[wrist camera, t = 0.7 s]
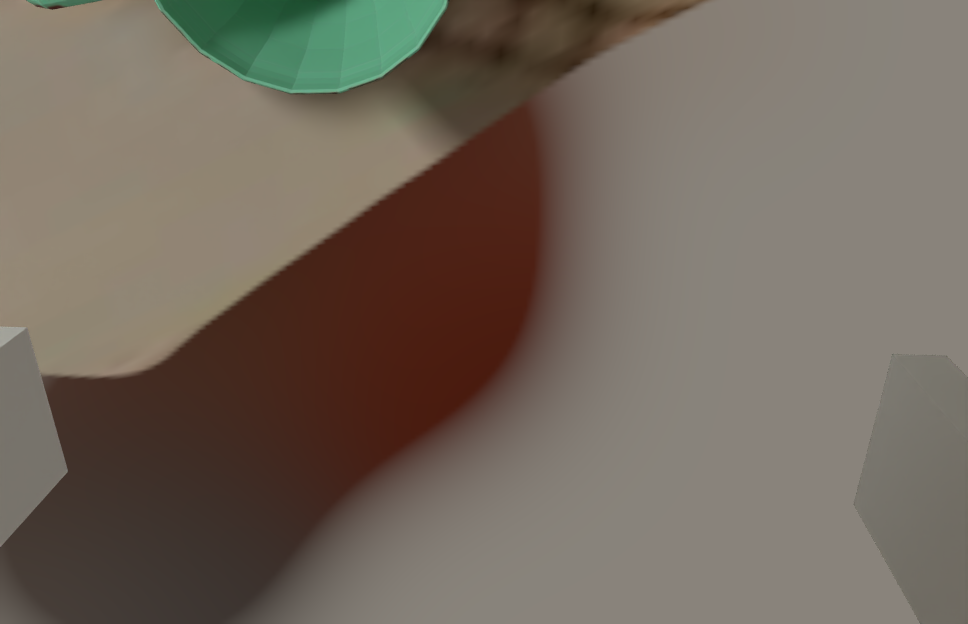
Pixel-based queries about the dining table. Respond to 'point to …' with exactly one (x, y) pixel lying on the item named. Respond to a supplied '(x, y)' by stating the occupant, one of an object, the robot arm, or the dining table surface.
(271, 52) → the mug
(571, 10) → the dining table surface
